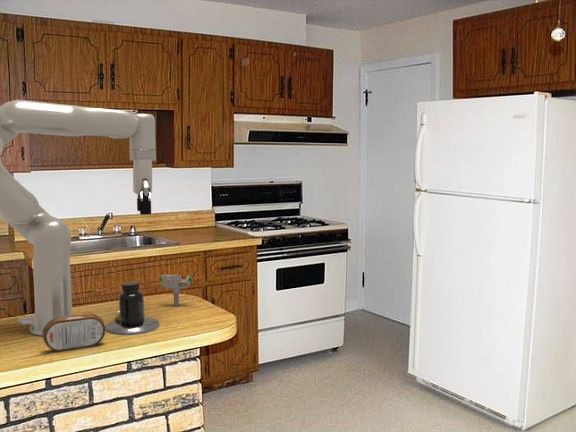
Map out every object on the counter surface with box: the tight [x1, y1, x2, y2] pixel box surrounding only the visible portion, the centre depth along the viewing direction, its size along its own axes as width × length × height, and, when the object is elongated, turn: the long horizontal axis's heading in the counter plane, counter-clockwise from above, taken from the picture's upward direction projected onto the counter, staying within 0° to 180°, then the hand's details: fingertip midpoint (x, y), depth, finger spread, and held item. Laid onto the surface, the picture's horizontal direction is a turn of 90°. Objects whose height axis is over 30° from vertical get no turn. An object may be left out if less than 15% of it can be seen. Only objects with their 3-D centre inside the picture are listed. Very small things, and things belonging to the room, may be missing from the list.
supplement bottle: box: [118, 281, 145, 327], centre depth 165 cm, size 7×7×12 cm
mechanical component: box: [158, 273, 193, 307], centre depth 187 cm, size 3×10×10 cm, turn 89°
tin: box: [42, 313, 106, 352], centre depth 147 cm, size 15×3×8 cm, turn 118°
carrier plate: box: [104, 308, 160, 336], centre depth 166 cm, size 15×15×4 cm
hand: (144, 212), depth 175 cm, fingers open, 9 cm apart
